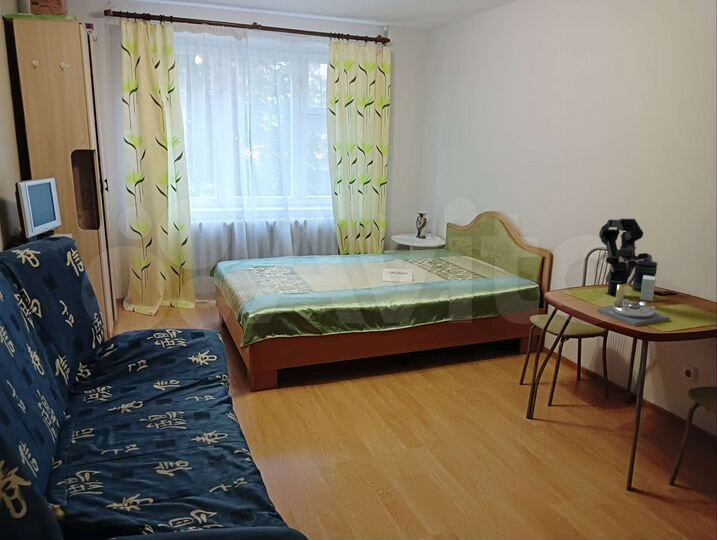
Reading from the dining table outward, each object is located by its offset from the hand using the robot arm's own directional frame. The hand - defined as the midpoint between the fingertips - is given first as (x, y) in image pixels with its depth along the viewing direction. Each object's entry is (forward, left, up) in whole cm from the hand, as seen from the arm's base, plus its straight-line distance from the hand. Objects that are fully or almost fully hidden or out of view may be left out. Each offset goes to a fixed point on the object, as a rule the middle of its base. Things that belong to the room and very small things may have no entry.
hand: (628, 276), depth 245 cm
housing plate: (+15, -12, -13) cm, 23 cm away
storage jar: (-15, +28, -13) cm, 34 cm away
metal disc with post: (+15, -12, -11) cm, 22 cm away
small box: (-4, +18, -13) cm, 22 cm away
